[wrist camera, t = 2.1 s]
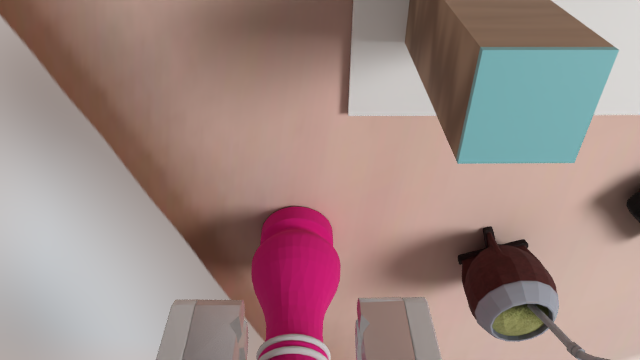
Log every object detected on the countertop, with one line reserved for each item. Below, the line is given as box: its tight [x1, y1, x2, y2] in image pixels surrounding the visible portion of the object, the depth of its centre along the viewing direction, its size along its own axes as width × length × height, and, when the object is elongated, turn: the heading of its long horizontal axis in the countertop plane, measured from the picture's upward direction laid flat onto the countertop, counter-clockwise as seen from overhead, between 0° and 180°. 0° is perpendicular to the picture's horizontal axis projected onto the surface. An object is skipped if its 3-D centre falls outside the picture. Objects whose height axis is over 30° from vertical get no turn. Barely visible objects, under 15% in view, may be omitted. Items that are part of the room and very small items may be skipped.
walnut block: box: [405, 0, 619, 164], centre depth 24 cm, size 5×5×14 cm
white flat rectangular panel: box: [348, 0, 640, 116], centre depth 30 cm, size 16×26×1 cm, turn 90°
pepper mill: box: [252, 207, 340, 360], centre depth 34 cm, size 7×7×20 cm
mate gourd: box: [458, 227, 609, 360], centre depth 38 cm, size 8×8×15 cm
